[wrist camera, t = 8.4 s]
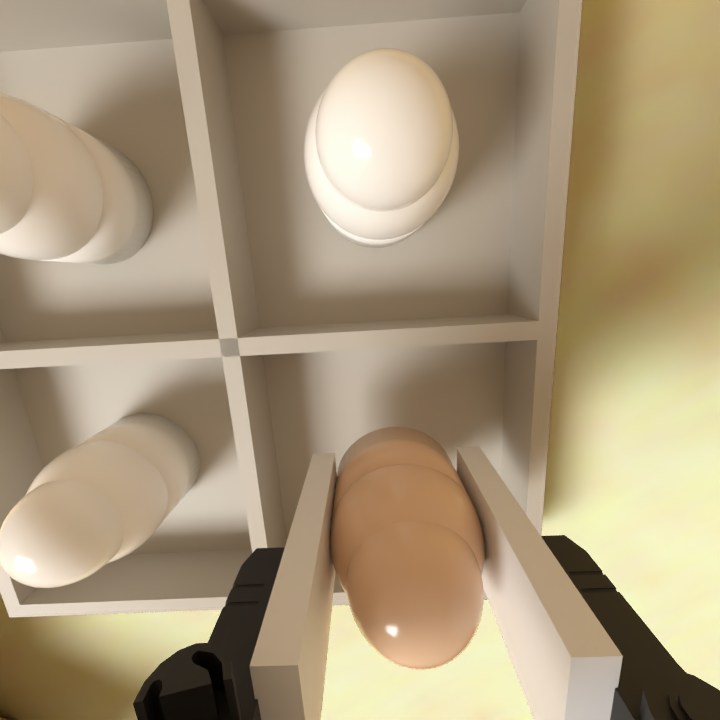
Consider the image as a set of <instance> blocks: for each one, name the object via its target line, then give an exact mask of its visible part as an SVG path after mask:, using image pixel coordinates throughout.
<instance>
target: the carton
mask: <svg viewBox="0 0 720 720" xmlns="http://www.w3.org/2000/svg"><path fill="white" fill-rule="evenodd" d="M581 12H582V0H0V93H3V94H7V95H10V96H13V97H16V98H20V99H22V100H25V101H27V102H29V103H31V104H33V105H36V106H38V107H40V108H42V109H44V110H45V111H47V112H49V113H51V114H53V115H55V116H57V117H59V118H61V119H62V120H64V121H66V122H68V123H70V124H72V125H74V126H75V127H77V128H79V129H81V130H83V131H85V132H87V133H88V134H90V135H92V136H94V137H96V138H98V139H100V140H101V141H103V142H105V143H107V144H109V145H111V146H113V147H114V148H116V149H118V150H119V151H121V152H122V153H123V154H124V155H126V156H127V157H128V158H129V159H130V160H131V161H132V162H133V163H134V164H135V165H136V167H137V168H138V169H139V171H140V172H141V174H142V175H143V177H144V179H145V181H146V183H147V185H148V188H149V191H150V194H151V198H152V203H153V222H152V227H151V231H150V234H149V236H148V238H147V240H146V242H145V243H144V245H143V246H142V247H141V249H140V250H139V251H138V252H137V253H136V254H134V255H133V256H132V257H130V258H129V259H127V260H124V261H122V262H119V263H115V264H87V263H71V262H56V261H41V260H28V259H21V258H14V257H10V256H7V255H3V254H0V529H1V526H2V524H3V522H4V520H5V519H6V517H7V515H8V514H9V512H10V511H11V510H12V508H13V507H14V506H15V505H16V504H17V503H18V502H19V501H20V500H21V499H22V498H23V497H24V496H25V495H26V493H27V491H28V489H29V487H30V485H31V484H32V482H33V481H34V479H35V478H36V476H37V475H38V474H39V473H40V472H41V471H42V469H43V468H44V467H45V466H46V465H48V464H49V463H50V462H51V461H52V460H53V459H55V458H56V457H57V456H59V455H60V454H62V453H64V452H65V451H67V450H69V449H70V448H72V447H74V446H76V445H77V444H79V443H81V442H83V441H84V440H86V439H88V438H89V437H91V436H93V435H95V434H96V433H98V432H100V431H102V430H103V429H105V428H107V427H109V426H110V425H112V424H114V423H115V422H117V421H119V420H121V419H122V418H125V417H127V416H130V415H134V414H154V415H158V416H162V417H164V418H167V419H169V420H171V421H173V422H174V423H176V424H177V425H179V426H180V427H181V428H183V429H184V430H185V431H186V432H187V433H188V435H189V436H190V437H191V439H192V440H193V442H194V444H195V445H196V448H197V450H198V454H199V458H200V470H199V474H198V477H197V480H196V482H195V484H194V485H193V486H192V488H191V489H190V490H189V491H188V492H187V494H186V495H185V496H184V497H183V498H182V500H181V501H180V502H179V503H178V505H177V506H176V507H175V508H174V509H173V511H172V512H171V513H170V514H169V515H168V517H167V518H166V519H165V520H164V522H163V523H162V524H161V525H160V526H159V527H158V528H157V530H156V531H155V532H154V533H153V535H152V536H151V537H150V538H149V539H148V540H147V541H146V542H145V543H143V544H142V545H141V546H140V547H138V548H137V549H135V550H134V551H133V552H131V553H129V554H128V555H126V556H124V557H122V558H120V559H118V560H115V561H113V562H110V563H107V564H106V565H104V566H103V567H102V568H101V569H99V570H98V571H96V572H95V573H93V574H92V575H90V576H88V577H86V578H84V579H82V580H80V581H77V582H75V583H72V584H68V585H65V586H60V587H53V588H37V587H31V586H28V585H25V584H22V583H19V582H17V581H16V580H14V579H13V578H11V577H10V576H9V575H8V574H7V573H6V572H5V570H4V569H3V567H2V566H1V564H0V593H1V596H2V598H3V601H4V604H5V607H6V609H7V612H8V615H9V617H36V616H63V615H89V614H116V613H143V612H169V611H196V610H222V609H223V607H225V602H226V600H227V597H228V595H229V593H230V591H231V589H232V588H233V584H234V581H235V579H236V577H237V574H238V572H239V570H240V567H241V565H242V564H243V563H244V562H245V561H246V560H247V558H248V557H249V556H250V555H251V554H252V553H253V552H254V551H255V550H256V548H277V547H285V546H286V542H287V539H288V536H289V532H290V529H291V526H292V522H293V519H294V515H295V512H296V509H297V505H298V502H299V499H300V495H301V492H302V489H303V485H304V482H305V479H306V475H307V472H308V469H309V465H310V462H311V459H312V455H313V454H324V453H335V461H336V473H337V470H338V467H339V463H340V461H341V459H342V457H343V455H344V454H345V452H346V451H347V450H348V448H349V447H350V446H351V445H352V444H353V443H354V442H355V441H357V440H358V439H359V438H361V437H362V436H364V435H366V434H368V433H370V432H372V431H375V430H378V429H382V428H387V427H406V428H411V429H415V430H418V431H421V432H423V433H425V434H427V435H429V436H430V437H432V438H433V439H434V440H436V441H437V442H438V443H439V444H440V445H441V446H442V447H443V449H444V450H445V451H446V453H447V455H448V457H449V458H450V460H451V462H452V464H453V466H454V468H455V470H456V472H457V447H480V448H481V449H482V451H483V452H484V454H485V455H486V457H487V458H488V460H489V461H490V463H491V464H492V466H493V467H494V468H495V470H496V471H497V473H498V474H499V476H500V477H501V479H502V480H503V482H504V483H505V485H506V486H507V487H508V489H509V490H510V492H511V493H512V495H513V496H514V498H515V499H516V501H517V502H518V504H519V505H520V506H521V508H522V509H523V511H524V512H525V514H526V515H527V517H528V518H529V520H530V521H531V523H532V524H533V526H534V527H535V528H536V530H537V531H538V533H539V534H540V536H541V533H542V520H543V507H544V494H545V481H546V468H547V455H548V442H549V429H550V416H551V403H552V390H553V377H554V364H555V351H556V338H557V325H558V312H559V299H560V286H561V273H562V260H563V247H564V234H565V221H566V207H567V194H568V181H569V168H570V155H571V142H572V129H573V116H574V103H575V90H576V77H577V64H578V51H579V38H580V25H581ZM379 48H395V49H401V50H404V51H407V52H409V53H411V54H413V55H415V56H417V57H419V58H420V59H421V60H423V61H424V62H425V63H426V64H427V65H429V66H430V67H431V68H432V70H433V71H434V72H435V73H436V75H437V76H438V77H439V79H440V81H441V82H442V84H443V86H444V88H445V90H446V92H447V95H448V98H449V102H450V106H451V108H452V110H453V113H454V116H455V120H456V124H457V130H458V136H459V157H458V163H457V169H456V174H455V177H454V180H453V183H452V186H451V188H450V190H449V192H448V194H447V196H446V198H445V199H444V201H443V203H442V204H441V206H440V207H439V208H438V210H437V211H436V212H435V213H434V214H433V215H432V216H431V218H430V219H429V220H428V221H426V222H425V223H424V224H423V225H422V226H421V227H420V228H419V229H418V230H417V231H416V232H415V233H413V234H412V235H411V236H410V237H408V238H407V239H405V240H403V241H402V242H400V243H397V244H395V245H392V246H388V247H382V248H370V247H364V246H360V245H357V244H355V243H353V242H350V241H349V240H347V239H345V238H344V237H343V236H341V235H340V234H339V233H338V232H337V231H336V230H335V229H334V228H333V227H332V225H331V224H330V223H329V221H328V220H327V218H326V216H325V215H324V213H323V211H322V210H321V208H320V206H319V205H318V203H317V201H316V199H315V198H314V196H313V193H312V191H311V188H310V186H309V183H308V179H307V175H306V171H305V164H304V142H305V133H306V129H307V124H308V121H309V118H310V115H311V113H312V111H313V108H314V106H315V104H316V102H317V100H318V99H319V97H320V96H321V94H322V93H323V91H324V90H325V89H326V87H327V86H328V85H329V83H330V82H331V80H332V78H333V77H334V76H335V74H336V73H337V72H338V71H339V70H340V69H341V68H342V67H343V66H344V65H345V64H346V63H347V62H349V61H350V60H352V59H353V58H355V57H356V56H358V55H360V54H362V53H364V52H367V51H370V50H373V49H379ZM483 589H484V588H483ZM484 600H488V598H487V596H486V593H485V591H484ZM332 605H349V601H348V596H347V595H346V593H345V592H344V590H343V588H342V586H341V584H340V582H339V580H338V578H337V575H336V572H335V581H334V591H333V601H332Z"/></svg>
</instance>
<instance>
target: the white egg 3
mask: <svg viewBox="0 0 720 720" xmlns="http://www.w3.org/2000/svg"><path fill="white" fill-rule="evenodd" d="M458 157H459V136H458V130H457V124H456V120H455V116H454V113H453V110H452V108H451V106H450V102H449V98H448V95H447V92H446V90H445V88H444V86H443V84H442V82H441V81H440V79H439V77H438V76H437V75H436V73H435V72H434V71H433V70H432V68H431V67H430V66H429V65H427V64H426V63H425V62H424V61H423V60H421V59H420V58H419V57H417V56H415V55H413V54H411V53H409V52H407V51H404V50H401V49H395V48H379V49H373V50H370V51H367V52H364V53H362V54H360V55H358V56H356V57H355V58H353V59H352V60H350V61H349V62H347V63H346V64H345V65H344V66H343V67H342V68H341V69H340V70H339V71H338V72H337V73H336V74H335V76H334V77H333V78H332V80H331V82H330V83H329V85H328V86H327V87H326V89H325V90H324V91H323V93H322V94H321V96H320V97H319V99H318V100H317V102H316V104H315V106H314V108H313V111H312V113H311V115H310V118H309V121H308V124H307V129H306V133H305V142H304V164H305V171H306V175H307V179H308V183H309V186H310V188H311V191H312V193H313V196H314V198H315V199H316V201H317V203H318V205H319V206H320V208H321V210H322V211H323V213H324V215H325V216H326V218H327V220H328V221H329V223H330V224H331V225H332V227H333V228H334V229H335V230H336V231H337V232H338V233H339V234H340V235H341V236H343V237H344V238H345V239H347V240H349V241H350V242H353V243H355V244H357V245H360V246H364V247H370V248H382V247H388V246H392V245H395V244H397V243H400V242H402V241H403V240H405V239H407V238H408V237H410V236H411V235H412V234H413V233H415V232H416V231H417V230H418V229H419V228H420V227H421V226H422V225H423V224H424V223H425V222H426V221H428V220H429V219H430V218H431V216H432V215H433V214H434V213H435V212H436V211H437V210H438V208H439V207H440V206H441V204H442V203H443V201H444V199H445V198H446V196H447V194H448V192H449V190H450V188H451V186H452V183H453V180H454V177H455V174H456V169H457V163H458Z"/></svg>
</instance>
